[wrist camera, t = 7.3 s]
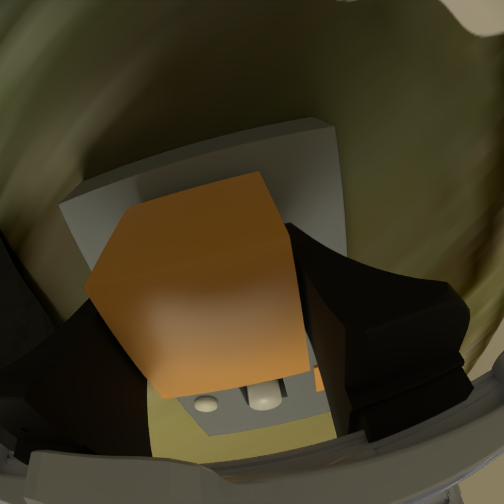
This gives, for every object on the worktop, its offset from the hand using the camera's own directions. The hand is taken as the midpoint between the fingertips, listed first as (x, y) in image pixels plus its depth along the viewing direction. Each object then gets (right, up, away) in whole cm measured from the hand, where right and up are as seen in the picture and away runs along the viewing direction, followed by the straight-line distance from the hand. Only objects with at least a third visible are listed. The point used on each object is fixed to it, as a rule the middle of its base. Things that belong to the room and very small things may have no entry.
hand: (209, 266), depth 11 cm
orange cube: (0, +1, +1) cm, 1 cm away
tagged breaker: (+2, -8, +11) cm, 13 cm away
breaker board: (+1, -3, +8) cm, 9 cm away
